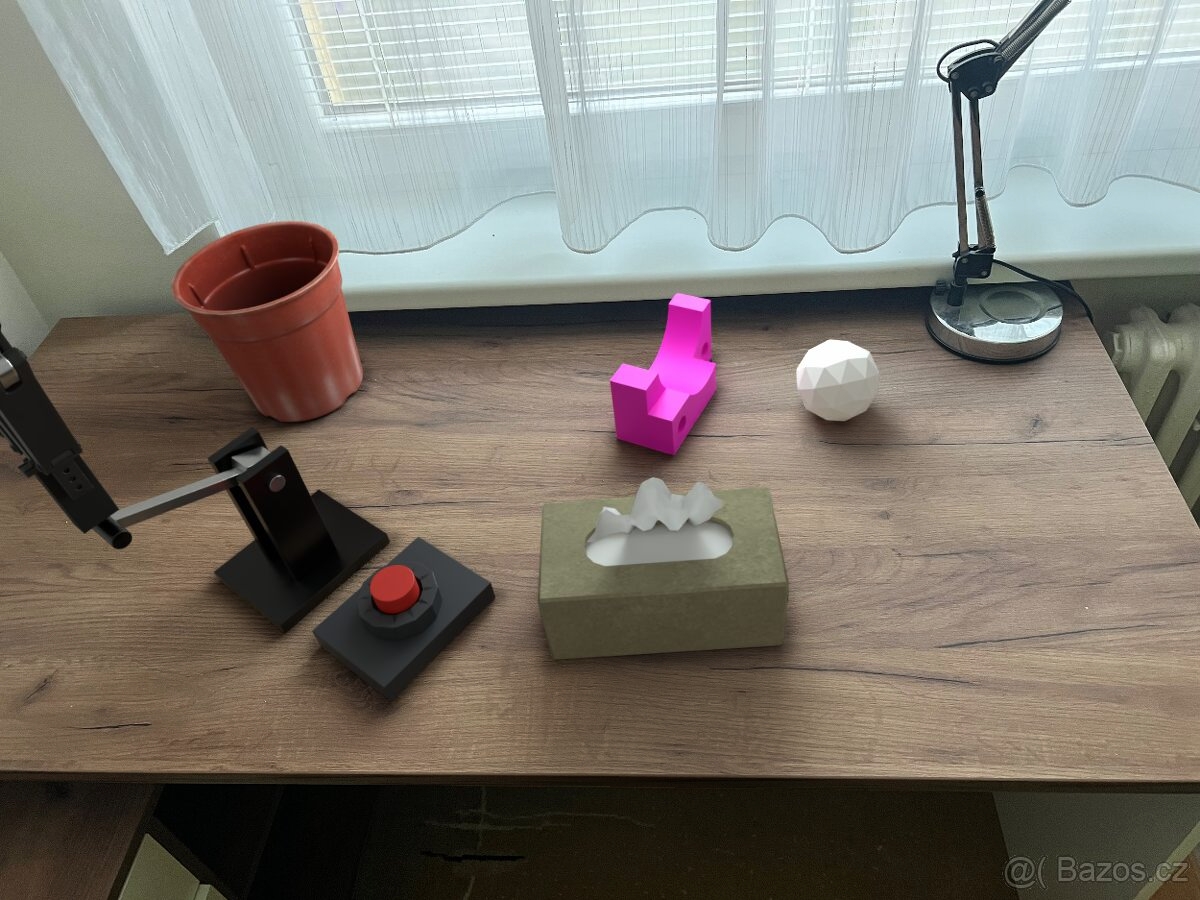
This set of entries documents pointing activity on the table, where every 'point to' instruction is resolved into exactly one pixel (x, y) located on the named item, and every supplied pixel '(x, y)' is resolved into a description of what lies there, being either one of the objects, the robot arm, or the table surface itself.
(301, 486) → the bracket
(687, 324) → the toy block
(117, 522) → the lever
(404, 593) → the button
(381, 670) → the button block
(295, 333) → the flower pot
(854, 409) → the ball
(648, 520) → the tissue box
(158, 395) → the table surface
